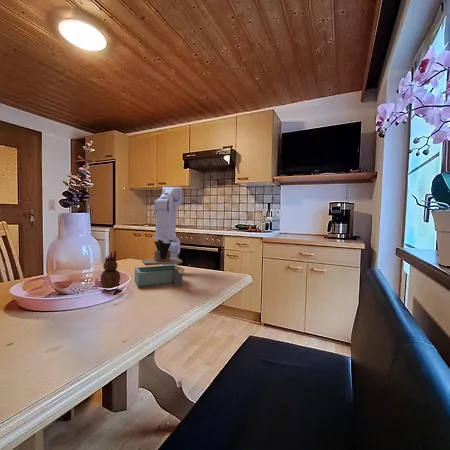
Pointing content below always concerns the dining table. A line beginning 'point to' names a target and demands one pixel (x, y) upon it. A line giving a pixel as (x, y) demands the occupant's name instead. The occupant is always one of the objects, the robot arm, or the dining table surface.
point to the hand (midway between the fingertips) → (162, 258)
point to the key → (179, 269)
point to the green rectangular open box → (157, 276)
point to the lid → (159, 261)
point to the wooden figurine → (110, 273)
